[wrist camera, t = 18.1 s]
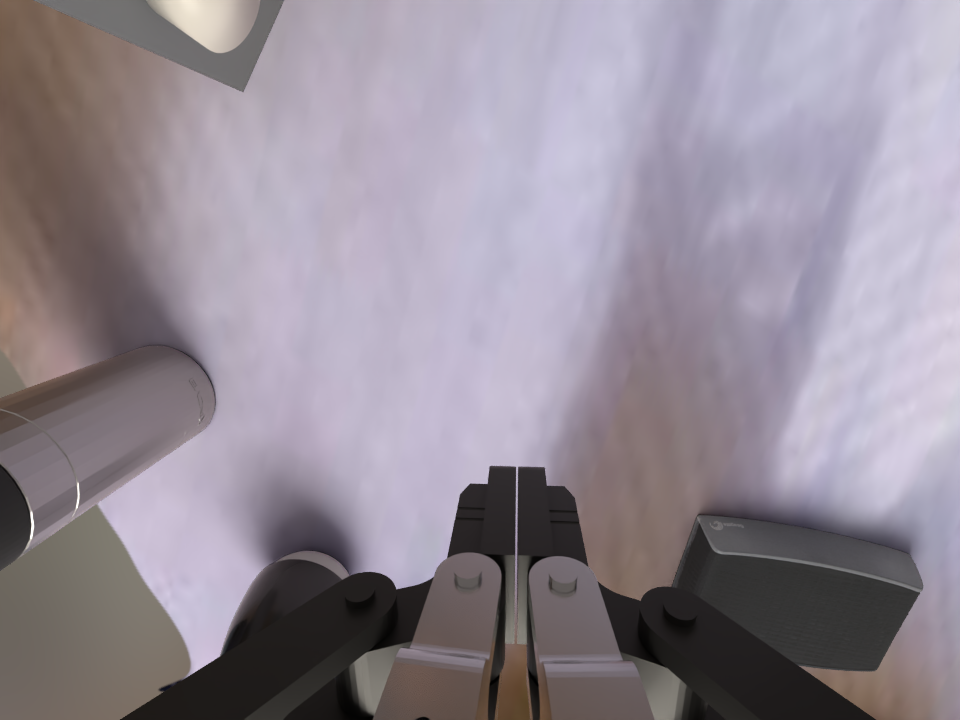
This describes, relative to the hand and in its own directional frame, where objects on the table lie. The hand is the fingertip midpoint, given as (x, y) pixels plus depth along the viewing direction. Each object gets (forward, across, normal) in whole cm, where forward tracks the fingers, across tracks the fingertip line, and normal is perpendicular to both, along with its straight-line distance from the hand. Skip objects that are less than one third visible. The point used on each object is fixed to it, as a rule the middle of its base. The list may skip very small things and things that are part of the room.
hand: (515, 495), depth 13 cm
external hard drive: (+28, -25, +26) cm, 46 cm away
